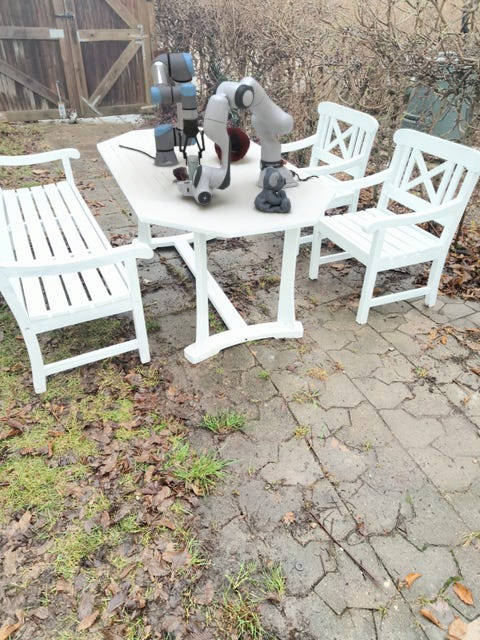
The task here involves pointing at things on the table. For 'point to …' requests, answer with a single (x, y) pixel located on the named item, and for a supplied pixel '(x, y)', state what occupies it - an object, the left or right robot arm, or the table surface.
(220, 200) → the table surface
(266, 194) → the koala plush
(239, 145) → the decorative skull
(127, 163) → the table surface
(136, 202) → the table surface
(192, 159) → the lid
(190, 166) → the jar
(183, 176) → the rock
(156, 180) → the table surface
